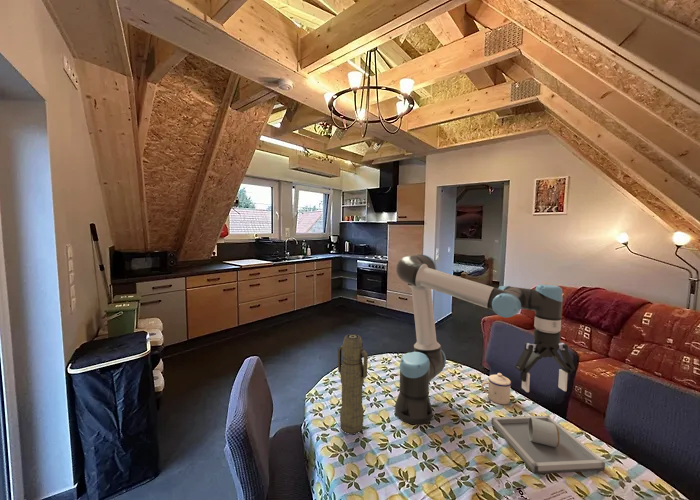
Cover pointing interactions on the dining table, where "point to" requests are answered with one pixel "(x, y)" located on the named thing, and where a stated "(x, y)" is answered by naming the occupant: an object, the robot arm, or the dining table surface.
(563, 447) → the drying tray
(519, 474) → the dining table surface
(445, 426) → the dining table surface
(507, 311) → the robot arm
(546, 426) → the ceramic mug
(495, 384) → the teacup with lid
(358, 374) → the thermos
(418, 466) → the dining table surface
